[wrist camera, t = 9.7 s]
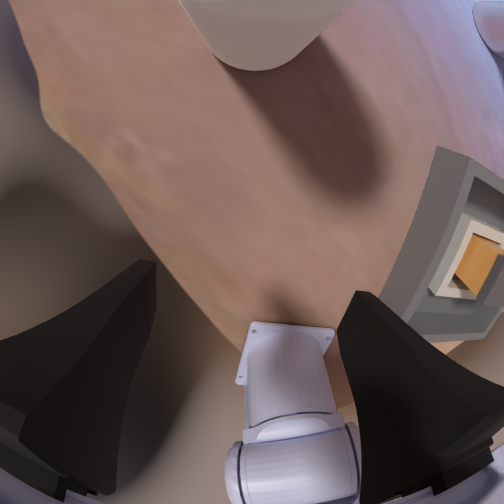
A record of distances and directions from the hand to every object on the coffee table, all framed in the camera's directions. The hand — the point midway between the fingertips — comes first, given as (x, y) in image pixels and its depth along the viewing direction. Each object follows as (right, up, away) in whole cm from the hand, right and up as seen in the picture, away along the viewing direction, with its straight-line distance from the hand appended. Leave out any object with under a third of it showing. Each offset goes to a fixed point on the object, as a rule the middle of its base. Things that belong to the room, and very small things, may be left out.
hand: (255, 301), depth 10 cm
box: (+20, +2, +12) cm, 24 cm away
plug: (+20, +2, +11) cm, 23 cm away
